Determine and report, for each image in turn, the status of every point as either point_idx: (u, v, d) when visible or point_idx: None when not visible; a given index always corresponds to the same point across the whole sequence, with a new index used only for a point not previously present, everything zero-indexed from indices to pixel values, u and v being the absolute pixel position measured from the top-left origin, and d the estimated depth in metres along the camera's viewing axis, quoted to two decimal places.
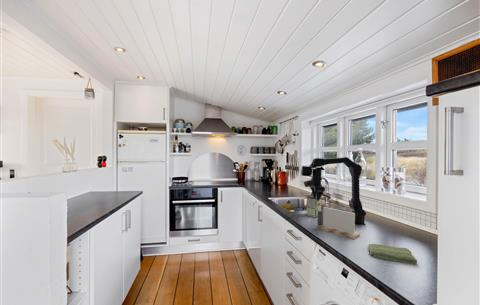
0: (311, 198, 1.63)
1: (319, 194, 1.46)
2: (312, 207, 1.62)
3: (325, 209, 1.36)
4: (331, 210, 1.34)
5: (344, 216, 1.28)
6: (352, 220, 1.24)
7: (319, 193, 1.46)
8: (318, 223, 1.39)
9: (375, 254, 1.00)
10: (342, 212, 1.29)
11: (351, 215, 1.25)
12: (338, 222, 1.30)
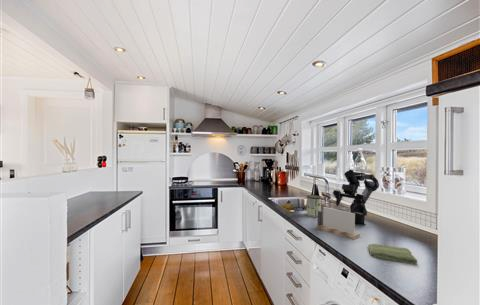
0: (311, 198, 1.63)
1: (356, 203, 1.34)
2: (312, 207, 1.62)
3: (325, 209, 1.36)
4: (331, 210, 1.34)
5: (344, 216, 1.28)
6: (352, 220, 1.24)
7: (357, 202, 1.35)
8: (318, 223, 1.39)
9: (375, 254, 1.00)
10: (342, 212, 1.29)
11: (351, 215, 1.25)
12: (338, 222, 1.30)
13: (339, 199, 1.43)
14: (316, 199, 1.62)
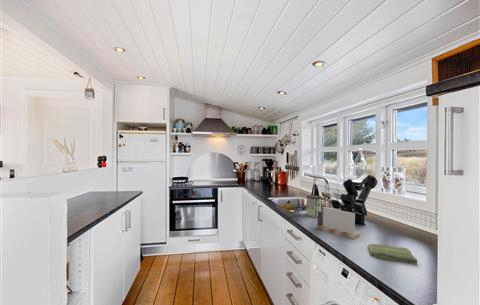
0: (311, 198, 1.63)
1: None
2: (312, 207, 1.62)
3: (325, 209, 1.36)
4: (331, 210, 1.34)
5: (344, 216, 1.28)
6: (352, 220, 1.24)
7: (347, 211, 1.36)
8: (318, 223, 1.39)
9: (375, 254, 1.00)
10: (342, 212, 1.29)
11: (351, 215, 1.25)
12: (338, 222, 1.30)
13: (344, 210, 1.37)
14: (316, 199, 1.62)
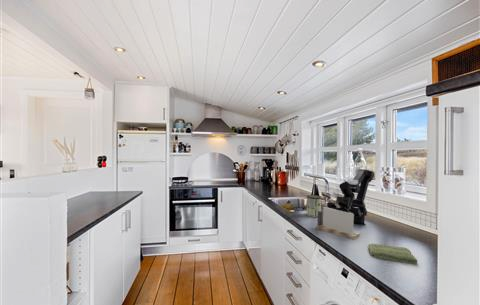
0: (311, 198, 1.63)
1: None
2: (312, 207, 1.62)
3: (325, 209, 1.36)
4: (330, 210, 1.33)
5: (343, 216, 1.27)
6: (351, 220, 1.23)
7: None
8: (318, 223, 1.39)
9: (376, 254, 1.00)
10: (341, 212, 1.28)
11: (350, 216, 1.24)
12: (337, 222, 1.30)
13: None
14: (316, 199, 1.62)
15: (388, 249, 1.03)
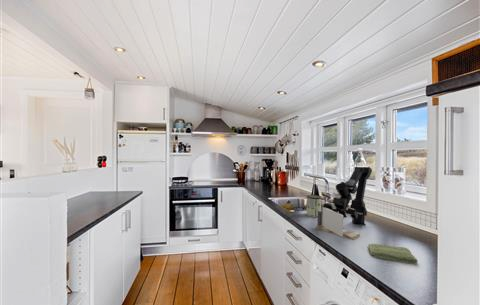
0: (311, 198, 1.63)
1: None
2: (312, 207, 1.62)
3: (323, 209, 1.36)
4: (327, 210, 1.33)
5: (335, 217, 1.25)
6: (340, 222, 1.21)
7: None
8: (318, 223, 1.39)
9: (376, 254, 1.00)
10: (334, 213, 1.26)
11: (340, 217, 1.21)
12: (331, 223, 1.28)
13: None
14: (316, 199, 1.62)
15: (388, 249, 1.03)
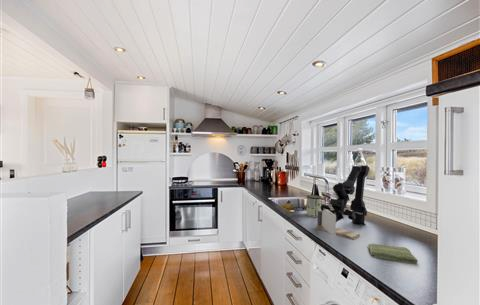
0: (311, 198, 1.63)
1: (337, 218, 1.27)
2: (312, 207, 1.62)
3: (323, 209, 1.36)
4: (325, 210, 1.33)
5: (330, 217, 1.25)
6: (333, 222, 1.20)
7: (338, 217, 1.28)
8: (318, 223, 1.39)
9: (376, 254, 1.00)
10: (329, 213, 1.26)
11: (333, 217, 1.21)
12: (327, 223, 1.28)
13: None
14: (316, 199, 1.62)
15: (388, 249, 1.03)
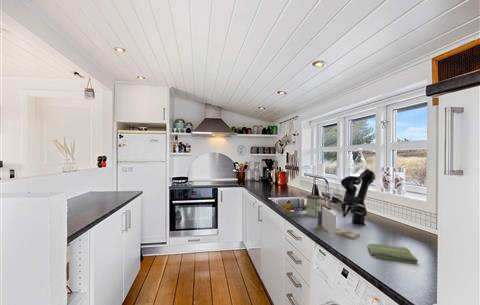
0: (311, 198, 1.63)
1: None
2: (312, 207, 1.62)
3: (323, 209, 1.36)
4: (325, 210, 1.33)
5: (330, 217, 1.25)
6: (333, 222, 1.20)
7: None
8: (318, 223, 1.39)
9: (376, 254, 1.00)
10: (329, 213, 1.26)
11: (333, 217, 1.21)
12: (327, 223, 1.28)
13: None
14: (316, 199, 1.62)
15: (388, 249, 1.03)
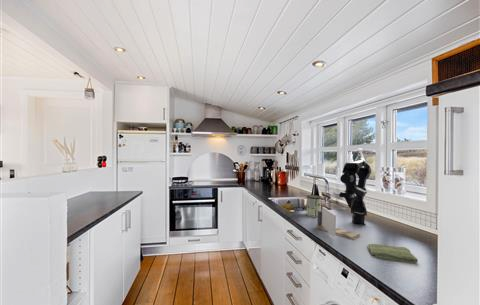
0: (311, 198, 1.63)
1: None
2: (312, 207, 1.62)
3: (323, 209, 1.36)
4: (325, 210, 1.33)
5: (330, 217, 1.25)
6: (333, 222, 1.20)
7: None
8: (318, 223, 1.39)
9: (376, 254, 1.00)
10: (329, 213, 1.26)
11: (333, 217, 1.21)
12: (327, 223, 1.28)
13: None
14: (316, 199, 1.62)
15: (388, 249, 1.03)
